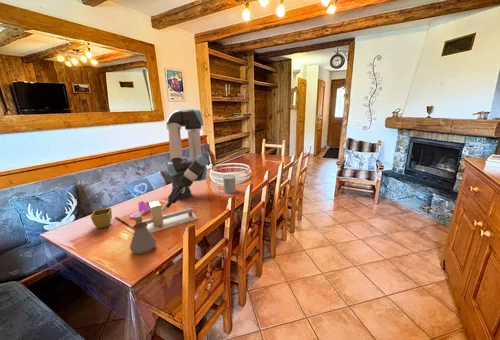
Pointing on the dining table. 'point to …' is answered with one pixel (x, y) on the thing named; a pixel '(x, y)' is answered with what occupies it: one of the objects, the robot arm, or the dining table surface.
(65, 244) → the dining table surface
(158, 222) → the tan rectangular block
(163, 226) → the rod gauge
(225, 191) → the gray cylinder
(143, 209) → the bracket
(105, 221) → the flower pot
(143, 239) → the coffee pot
